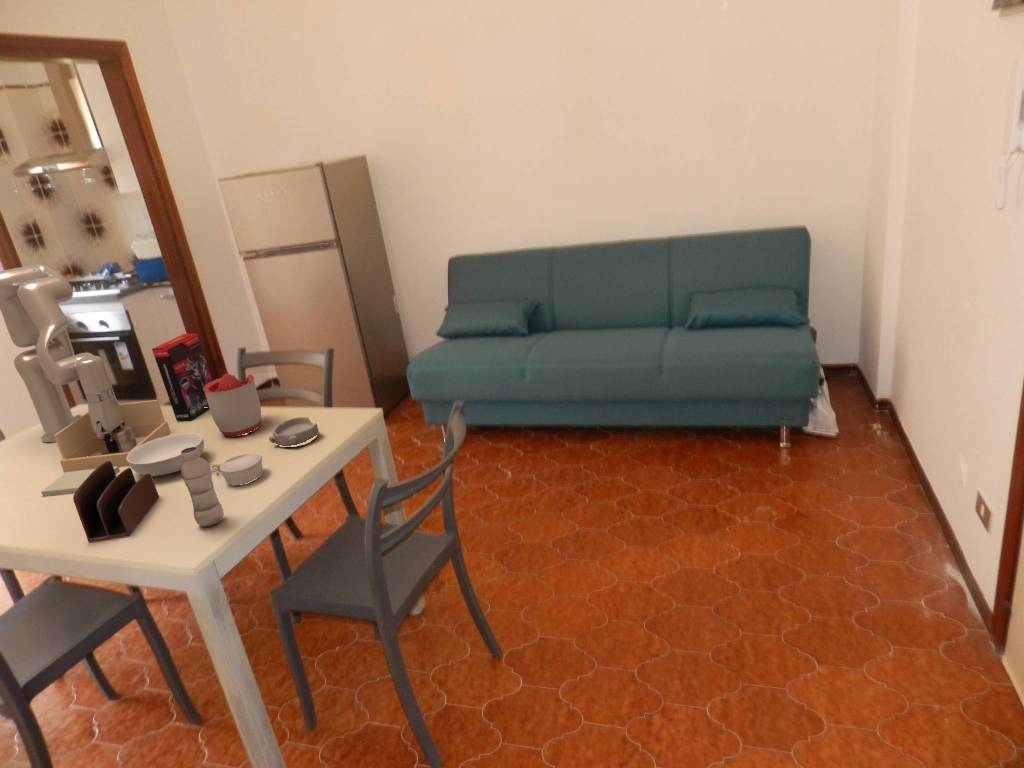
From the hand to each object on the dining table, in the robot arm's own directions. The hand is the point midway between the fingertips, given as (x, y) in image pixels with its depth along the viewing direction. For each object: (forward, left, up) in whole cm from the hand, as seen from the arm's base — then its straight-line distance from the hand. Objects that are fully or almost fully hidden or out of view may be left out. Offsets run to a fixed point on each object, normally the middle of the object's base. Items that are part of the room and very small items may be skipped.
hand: (118, 447), depth 221 cm
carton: (0, 0, -2) cm, 2 cm away
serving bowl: (+17, +25, -2) cm, 30 cm away
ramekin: (+30, +52, -2) cm, 60 cm away
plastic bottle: (+53, +52, -2) cm, 74 cm away
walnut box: (0, 0, -2) cm, 2 cm away
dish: (+7, +60, -2) cm, 60 cm away
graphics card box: (-29, +13, -2) cm, 32 cm away
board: (+21, 0, -2) cm, 21 cm away
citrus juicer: (-7, +38, -2) cm, 39 cm away
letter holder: (+46, +26, -2) cm, 53 cm away
